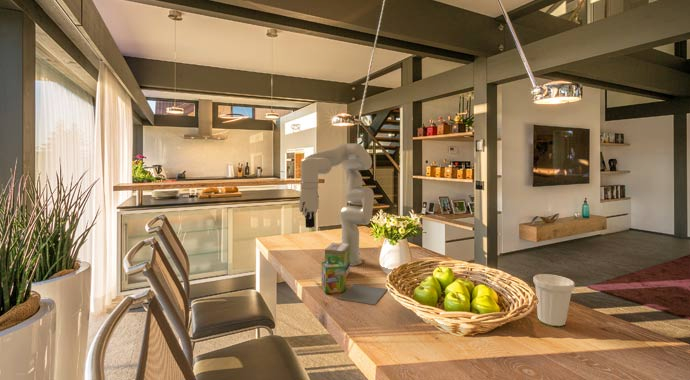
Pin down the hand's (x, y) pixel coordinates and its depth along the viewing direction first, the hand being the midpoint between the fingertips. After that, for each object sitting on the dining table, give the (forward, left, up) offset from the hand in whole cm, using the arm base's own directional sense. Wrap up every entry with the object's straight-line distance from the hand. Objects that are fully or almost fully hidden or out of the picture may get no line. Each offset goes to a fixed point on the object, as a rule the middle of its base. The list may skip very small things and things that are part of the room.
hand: (310, 226), depth 157 cm
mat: (0, +26, -27) cm, 37 cm away
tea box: (-18, +6, -27) cm, 33 cm away
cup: (-2, +96, -27) cm, 99 cm away
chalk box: (0, +11, -27) cm, 30 cm away
